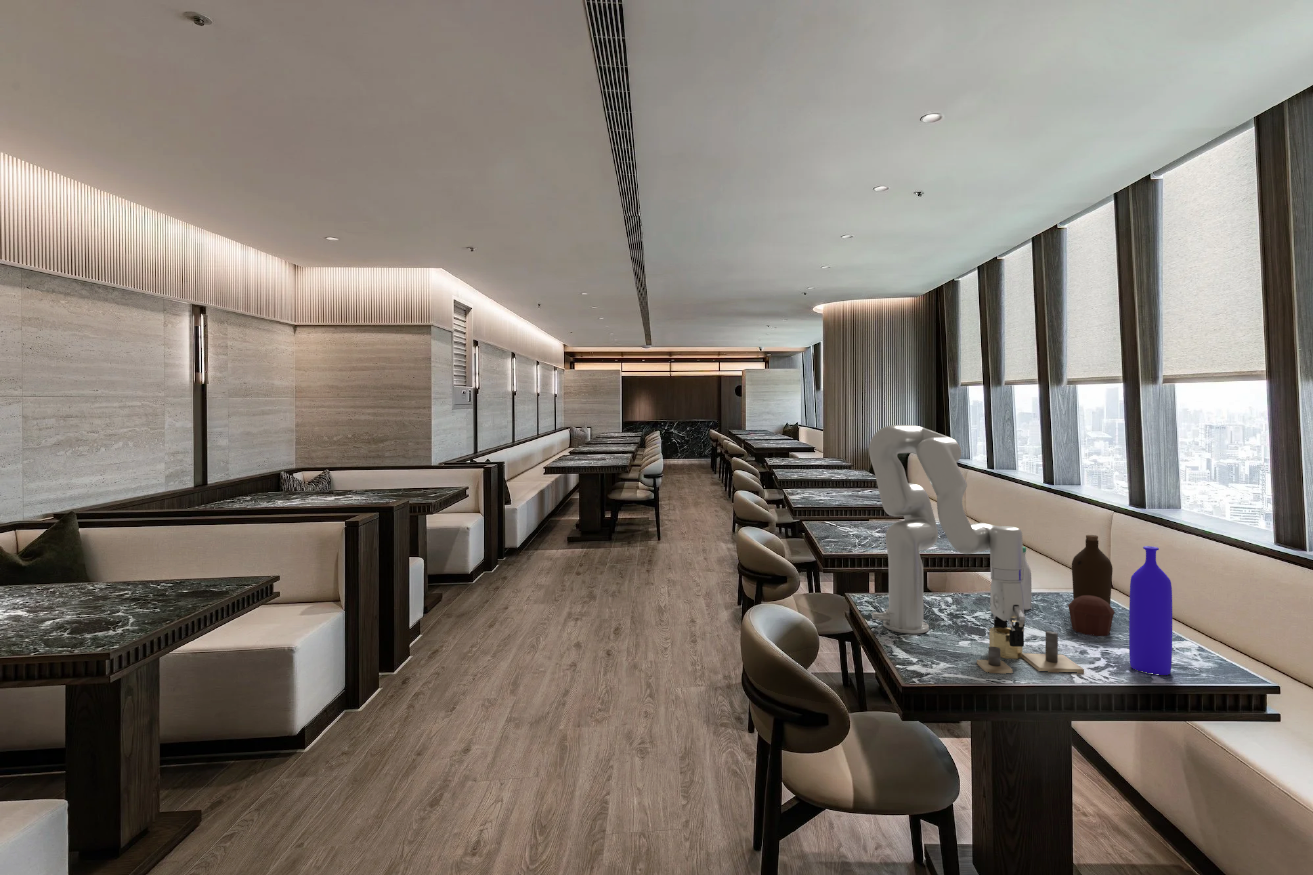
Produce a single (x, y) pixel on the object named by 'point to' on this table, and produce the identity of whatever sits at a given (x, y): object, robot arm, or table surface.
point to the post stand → (1051, 658)
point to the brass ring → (1003, 643)
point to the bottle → (1150, 618)
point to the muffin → (1091, 615)
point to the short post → (994, 662)
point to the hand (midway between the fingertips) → (1008, 640)
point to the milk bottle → (1026, 583)
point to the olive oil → (1092, 571)
